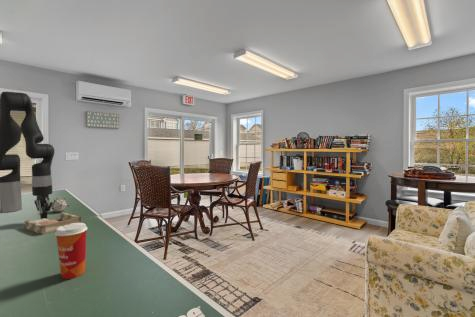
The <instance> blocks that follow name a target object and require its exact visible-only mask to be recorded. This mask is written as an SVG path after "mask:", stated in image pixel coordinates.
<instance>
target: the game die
mask: <svg viewBox="0 0 475 317" xmlns="http://www.w3.org/2000/svg"><path fill="white" fill-rule="evenodd" d="M65 199H66V198H65V197H64V198H58V197H56V199H53V201H52V206H51V210H52V213H53V214H54V213H55V212H57V213H58V212H59V213H62V211H65V209H66V208H67V207H70V205H69V204H67V201H66V200H65Z"/></svg>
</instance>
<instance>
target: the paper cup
mask: <svg viewBox="0 0 475 317" xmlns="http://www.w3.org/2000/svg"><path fill="white" fill-rule="evenodd" d="M87 230H88V226H87V225H86V223H84V222H81V223H72V224H69V225H68V224H67V225H64V226H60V227H58V228H57V230H56V231H54V232H55V233H54V235H55V236H56V244H57V245H56V246H57V252H58V261H59V267H60V275H61V278H62V279H63V280H72V279H75V278H78V277H81V276H83V275H84V274H85V271H86V256H87V255H86V254H87V252H86V251H87V248H86V247H87Z"/></svg>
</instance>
